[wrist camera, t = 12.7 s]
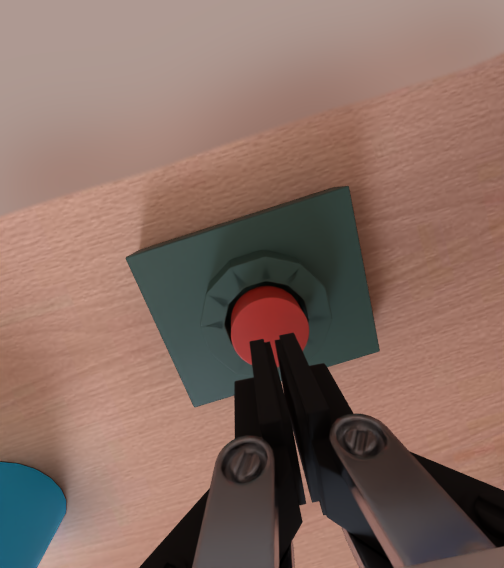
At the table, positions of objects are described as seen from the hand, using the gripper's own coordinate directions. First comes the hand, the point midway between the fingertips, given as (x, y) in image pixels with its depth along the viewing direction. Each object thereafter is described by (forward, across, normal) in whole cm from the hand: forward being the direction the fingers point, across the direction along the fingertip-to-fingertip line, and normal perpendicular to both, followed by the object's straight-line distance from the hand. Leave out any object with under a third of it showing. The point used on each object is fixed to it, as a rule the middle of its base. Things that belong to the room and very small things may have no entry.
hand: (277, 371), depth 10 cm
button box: (+8, 0, 0) cm, 8 cm away
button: (+4, 0, 0) cm, 4 cm away
